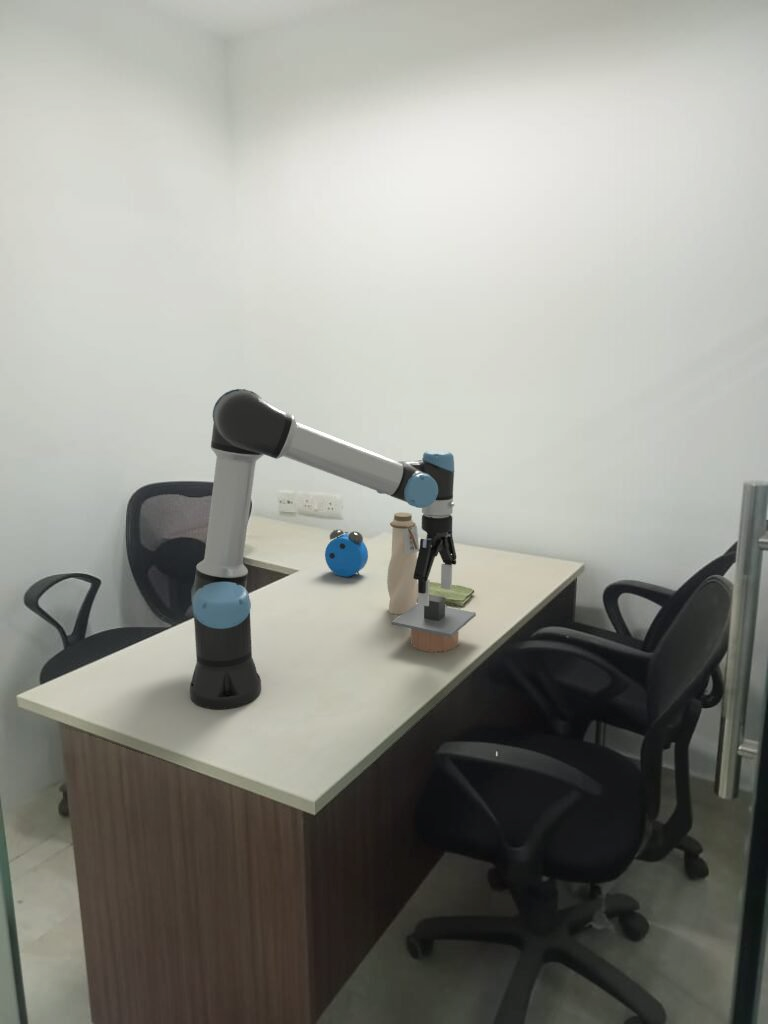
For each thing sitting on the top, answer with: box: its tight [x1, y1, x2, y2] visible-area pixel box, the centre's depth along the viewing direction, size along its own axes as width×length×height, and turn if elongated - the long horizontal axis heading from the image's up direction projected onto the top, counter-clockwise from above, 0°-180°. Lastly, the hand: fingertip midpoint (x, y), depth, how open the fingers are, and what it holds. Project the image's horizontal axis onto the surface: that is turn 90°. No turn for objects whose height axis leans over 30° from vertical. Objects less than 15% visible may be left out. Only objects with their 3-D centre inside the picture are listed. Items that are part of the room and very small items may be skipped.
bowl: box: [410, 629, 459, 653], centre depth 183 cm, size 12×12×6 cm
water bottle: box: [386, 512, 420, 615], centre depth 202 cm, size 10×9×28 cm
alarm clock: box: [324, 529, 369, 578], centre depth 235 cm, size 13×6×15 cm, turn 68°
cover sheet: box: [391, 595, 477, 637], centre depth 182 cm, size 16×16×6 cm
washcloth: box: [417, 581, 475, 607], centre depth 216 cm, size 13×18×3 cm
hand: (435, 596), depth 181 cm, fingers open, 13 cm apart
